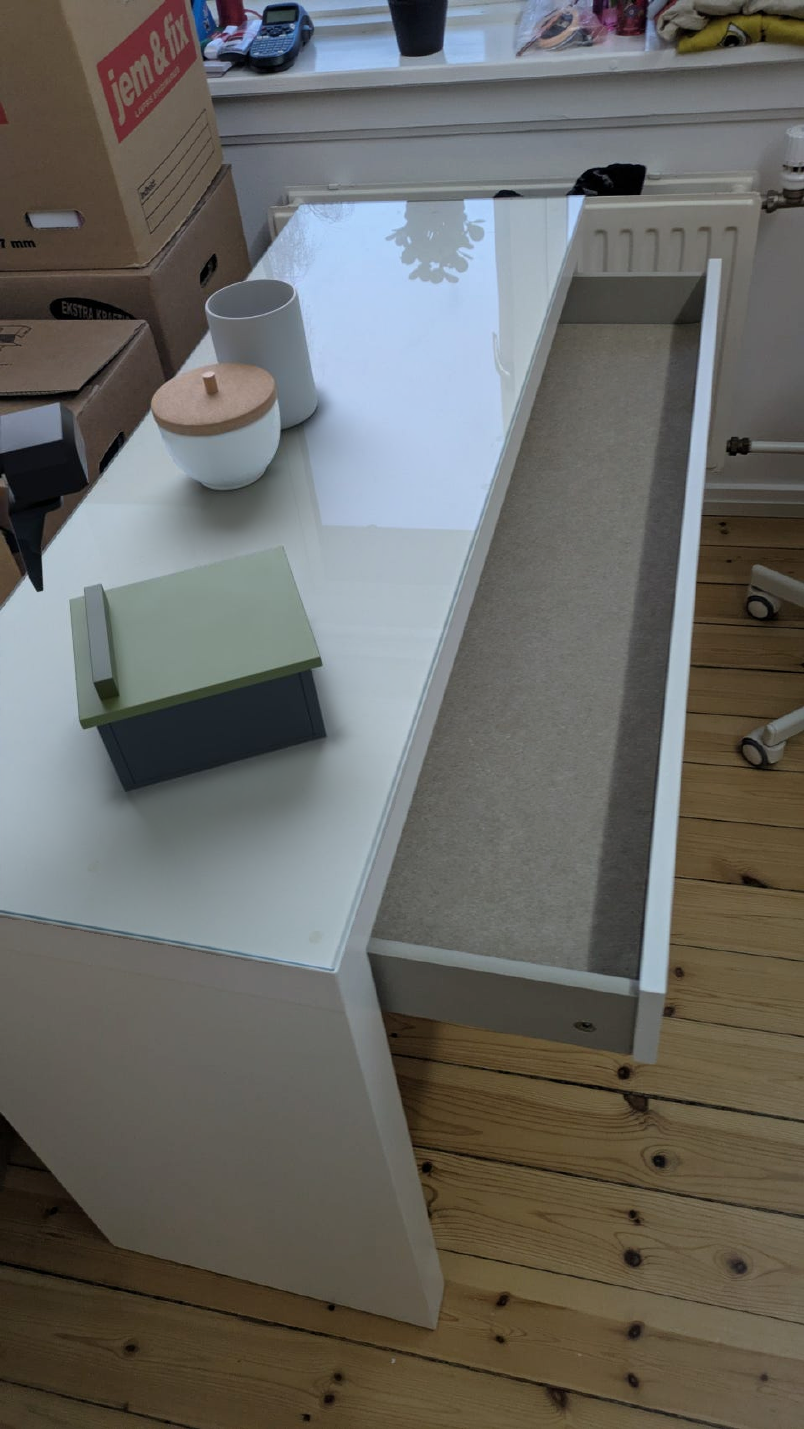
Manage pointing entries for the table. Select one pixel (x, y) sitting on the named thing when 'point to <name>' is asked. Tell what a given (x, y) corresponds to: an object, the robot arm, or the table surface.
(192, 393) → the trinket box
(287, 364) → the mug
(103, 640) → the bin lid
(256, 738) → the bin
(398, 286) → the table surface
